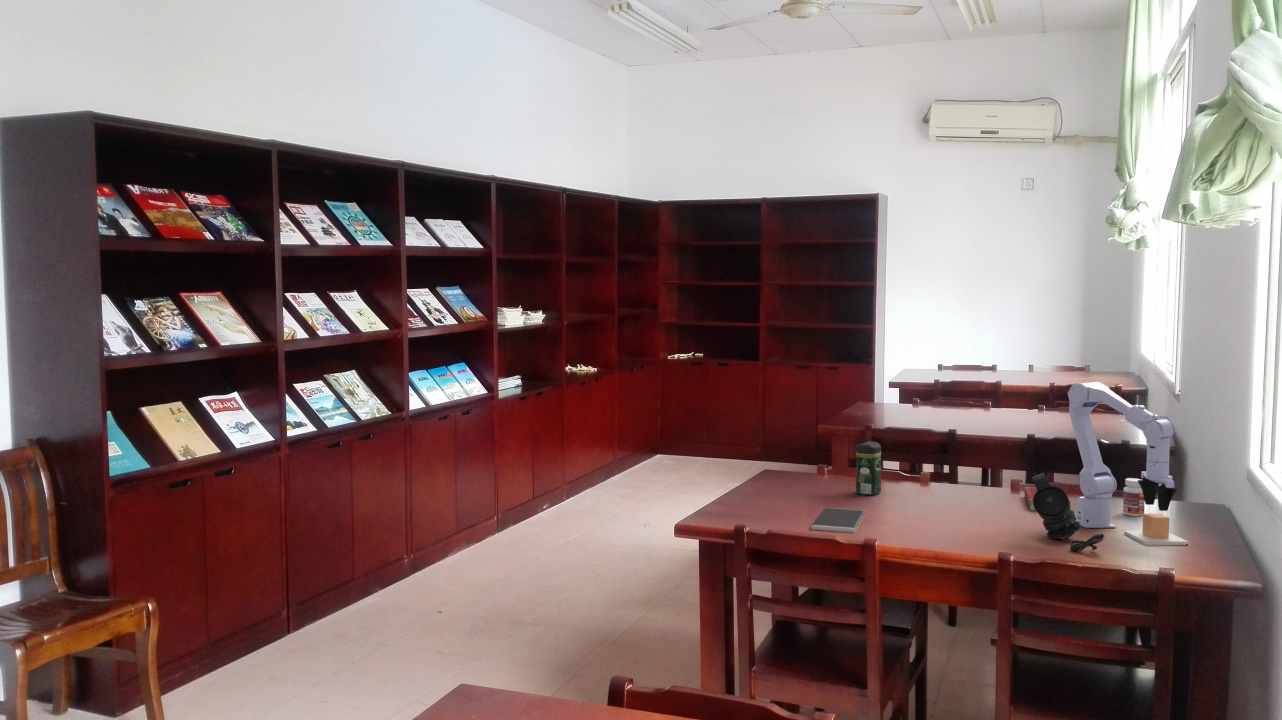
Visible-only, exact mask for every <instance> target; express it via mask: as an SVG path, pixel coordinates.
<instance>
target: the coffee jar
mask: <svg viewBox="0 0 1282 720" xmlns="http://www.w3.org/2000/svg"><path fill="white" fill-rule="evenodd" d="M855 455H856V479H855V480H856V481H855V493H856V494H858V495H861V496H875V495H876V496H877V495H878V494H880V493H881V492H882V477H881V476H882V473H881V472H882V471H881V470H882V467H881V459H882V458H881V457H882V446H881V444H880V443H879V442H878V441H869V440H868V441H865V442H864V443H859V444H858V445H856V447H855Z"/></svg>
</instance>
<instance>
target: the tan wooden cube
mask: <svg viewBox="0 0 1282 720" xmlns="http://www.w3.org/2000/svg"><path fill="white" fill-rule="evenodd" d="M1141 528H1142V530H1141V531H1142V534H1144V535H1146V536H1148V537H1150V538H1169V533H1170V517H1169V516H1167V515H1164V514H1163V513H1144V514H1143V516H1142V527H1141Z"/></svg>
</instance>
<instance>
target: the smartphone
mask: <svg viewBox="0 0 1282 720" xmlns="http://www.w3.org/2000/svg"><path fill="white" fill-rule="evenodd" d="M865 515H866V511H865V510H863V509H862V510H861V509H848V508H833V507H825V508H824V509H823V510H822V511H821V513H820V514H819V515H818V516H817V518H816V519H815V520H814V522H812V524H811V527H810V528H811V530H814V531H825V532H839V533H840V532H841V533H850V534H852V533H854V534H855V533H856V531H857V530H858V528H859V527H860V525H861V522H862V521H863V519H864V517H865Z"/></svg>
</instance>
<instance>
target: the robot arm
mask: <svg viewBox="0 0 1282 720" xmlns="http://www.w3.org/2000/svg"><path fill="white" fill-rule="evenodd" d="M1067 396H1068V400H1069V406H1068V411H1069V412H1068V415H1069V418H1070V420H1071V425H1072V429H1073V433H1074V436H1075V439H1076V443H1077V446H1078V450H1079V454H1080V457H1081V460H1082V461H1081V462H1082V465H1083V468H1082V469H1081V471H1080V472H1079V475H1078V476H1079V481H1080V482H1079V488H1080V490H1081V491H1080V492H1082V494H1083V496H1078V497H1077V498H1076V499H1075V503H1074V507H1075V509H1074V514H1075V517H1076V521H1078V522H1079V523H1080V525H1081V527H1083V528H1085V529H1086V528H1087V529H1088V528H1089V529H1091V528H1098V529H1101V528H1102V529H1103V528H1105V529H1106V528H1108V529H1109V528H1112V529H1115V528H1117V526H1116V525H1115V524H1112V523H1111V509H1112V507H1111V505H1112V504H1111V502H1112V501H1111V500H1112V496H1113V493H1114V492H1115V491H1116V490H1117V485H1118V483H1117V480H1116V478H1115V477H1114V476H1113V473H1112V471H1111V469H1110V468H1109V467H1108V466H1107V465H1106V464H1104V462H1103V458H1102V455H1101V452H1100V448H1099V445H1098V441H1097V437H1096V434H1095V430H1094V427H1093V423H1092V418H1091V415H1090V414H1091V413H1092V411H1093V410H1094V408H1096V407H1097V406H1098V405H1099V404H1100V403H1103V404H1104V405H1107V406H1109V407H1110V408H1112V409H1114V410H1116V411H1118V413H1120V414H1122V415H1124V419H1125V421H1126V422H1128V423H1129V424H1131V425H1132V426H1133V427H1136V428H1137V429H1138V430H1140V431H1142V433H1143V435H1144V437H1145V440H1146V445H1147V446H1146V448H1147V449H1146V468H1145V469H1146V470H1145V471H1140V473H1141V474H1140V478H1141V480H1138V483H1139V485H1140V487H1141V489H1142V492H1143V496H1144V500H1145V506H1148V505H1150V506H1151V505H1154V504H1155V500H1156V496H1157V505H1158V506H1157V507H1158V511H1160V512H1161V511H1162V512H1166V511H1167V512H1168V510H1169V508H1170V504H1171V501H1172V498H1173V497H1174V496H1175V494H1176V492H1177V491H1178V488H1177V487H1176V486H1175V481H1174V480H1173V479H1174V478H1173V476H1172V475H1170V447H1171V446H1170V445H1171V438H1172V437H1173V436H1175V435H1174V434H1175V432H1176V428H1175V427H1176V426H1175V425H1174V423H1173V422H1172V421H1171V420H1170V419H1169V418H1160V417H1159V415H1158V414H1154V413H1152V412H1151V411H1149V410H1148V409H1146V406H1144V405H1143V404H1141V405H1140V404H1134V405H1133V404H1130V403H1129V402H1128V401H1127V400H1125V399H1124V398H1122V397H1121V396H1120V395H1118V394H1117V393H1115V392H1114V391H1113V390H1111V389H1110V387H1109V386H1108V385H1105V384H1104V383H1102V382H1101V381H1093V382H1082V383H1081V382H1076V383H1074V384H1073V385H1072V386H1071V387H1070V388H1069V390H1068V392H1067Z"/></svg>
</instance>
